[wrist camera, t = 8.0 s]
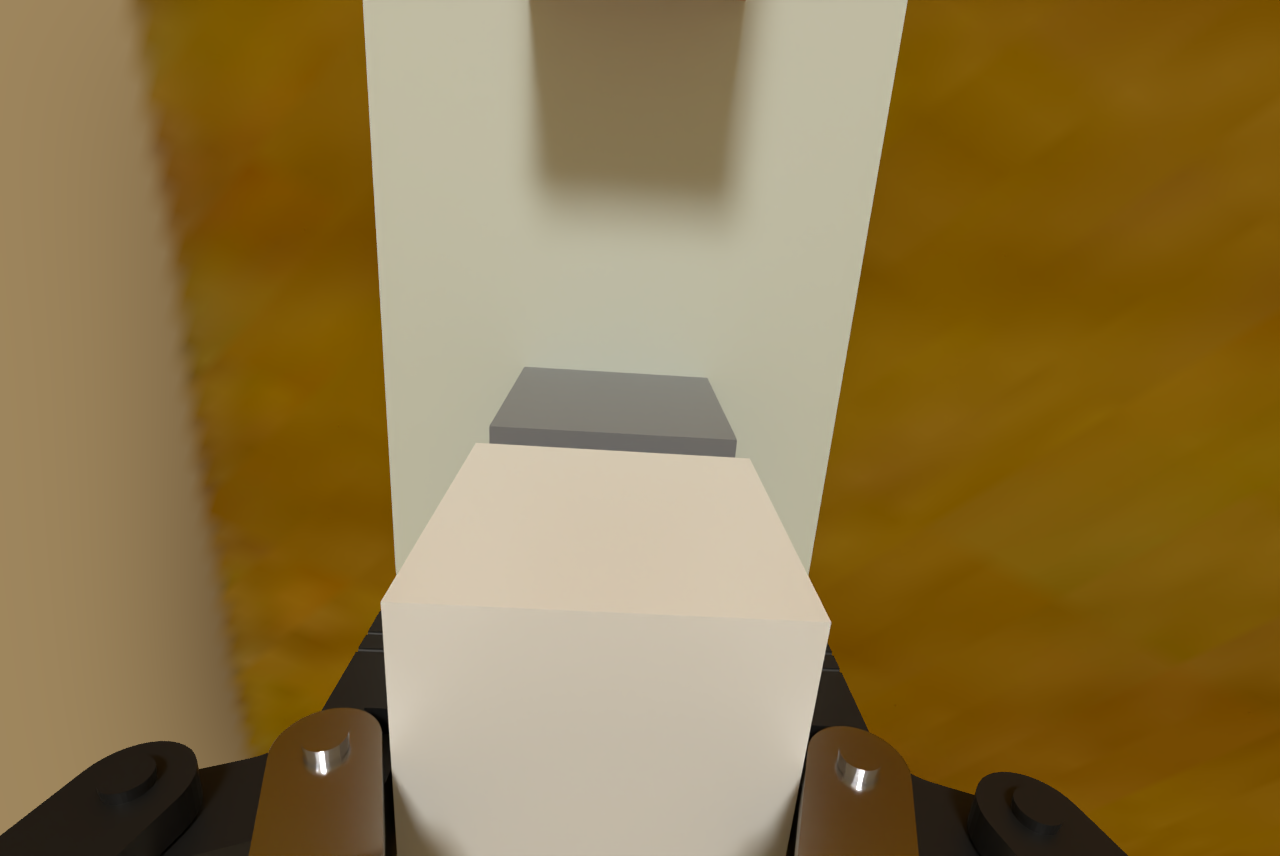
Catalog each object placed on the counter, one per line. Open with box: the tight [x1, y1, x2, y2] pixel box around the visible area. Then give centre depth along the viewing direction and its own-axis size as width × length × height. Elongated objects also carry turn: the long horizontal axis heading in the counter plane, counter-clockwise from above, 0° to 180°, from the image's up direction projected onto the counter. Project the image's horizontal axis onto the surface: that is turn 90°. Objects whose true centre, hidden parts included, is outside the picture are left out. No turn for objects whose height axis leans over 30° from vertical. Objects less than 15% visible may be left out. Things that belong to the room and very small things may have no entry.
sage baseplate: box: [363, 0, 908, 576], centre depth 16 cm, size 23×12×1 cm, turn 176°
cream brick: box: [381, 443, 831, 856], centre depth 10 cm, size 6×5×5 cm
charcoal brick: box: [489, 367, 737, 458], centre depth 16 cm, size 6×5×5 cm
